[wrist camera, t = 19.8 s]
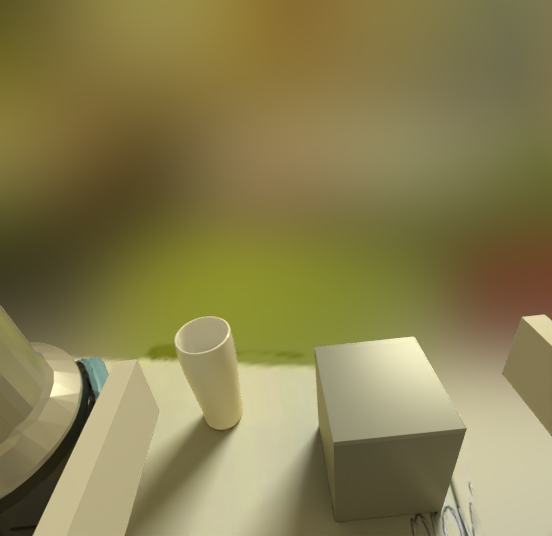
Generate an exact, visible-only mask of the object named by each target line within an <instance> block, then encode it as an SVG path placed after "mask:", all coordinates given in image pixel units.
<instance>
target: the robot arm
mask: <svg viewBox="0 0 552 536" xmlns="http://www.w3.org/2000/svg"><path fill="white" fill-rule="evenodd" d="M502 374H503V375H504V376H505V378H506V379H507V380H508V382H509V383H510V384H511V385H512V387H513V388H514V389H515V390H516V392H517V393H518V394H519V395H520V396H521V398H522V399H523V400H524V402H525V403H526V404H527V406H528V407H529V408H530V409H531V411H532V412H533V413H534V414H535V416H536V417H537V418H538V419H539V421H540V422H541V423H542V424H543V426H544V427H545V428H546V430H547V431H548V432H549V433H550V435H551V436H552V321H551V320H550V319H549V318H548V317H547V316H546V315H538V316H528V317H522V318H521V321H520V324H519V327H518V330H517V333H516V336H515V339H514V341H513V344H512V347H511V350H510V353H509V356H508V359H507V361H506V364H505V367H504V370H503V373H502ZM158 414H159V409H158V406H157V404H156V402H155V399H154V397H153V395H152V392H151V390H150V388H149V385H148V383H147V381H146V378H145V376H144V374H143V372H142V369H141V367H140V365H139V362H138V360H137V359H136V360H127V361H118V362H115V363H114V365H113V367H112V369H111V371H110V373H109V375H108V372H107V369H106V366H105V364H104V362H103V361H102V359H101V358H97V357H92V358H89V359H81V360H78V361H76V362H75V361H74V360H73V359H72V358H71V357H70V356H69V354H67V353H66V352H64V351H63V350H62V349H59V348H57V347H55V346H52V345H48V344H43V343H37V342H28V341H27V340H26V338H25V337H24V336H23V334H22V333H21V332H20V331H19V329H18V328H17V327H16V325H15V324H14V323H13V321H12V320H11V319H10V317H9V316H8V315H7V313H6V312H5V311H4V310H3V308H2V307H1V305H0V536H125V533H126V529H127V525H128V522H129V518H130V515H131V511H132V507H133V504H134V500H135V497H136V493H137V490H138V486H139V482H140V479H141V475H142V472H143V468H144V464H145V461H146V457H147V454H148V450H149V446H150V443H151V439H152V436H153V432H154V429H155V425H156V421H157V418H158Z"/></svg>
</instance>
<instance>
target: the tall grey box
mask: <svg viewBox="0 0 552 536" xmlns="http://www.w3.org/2000/svg"><path fill="white" fill-rule="evenodd" d="M315 366H316V383H317V401H318V418H319V429H320V435H321V441H322V447H323V453H324V458H325V464H326V470H327V476H328V482H329V488H330V494H331V500H332V505H333V511H334V517H335V522H342V521H351V520H361V519H371V518H381V517H391V516H400V515H410V514H420V513H430V512H439V511H441V510H442V507H443V504H444V501H445V497H446V494H447V491H448V488H449V484H450V481H451V478H452V475H453V471H454V468H455V465H456V462H457V458H458V455H459V452H460V448H461V445H462V442H463V439H464V435H465V432H466V429H467V428H466V426H465V424H464V423H463V421H462V419H461V418H460V416H459V414H458V412H457V410H456V409H455V407H454V405H453V403H452V402H451V400H450V398H449V396H448V395H447V393H446V391H445V390H444V388H443V386H442V384H441V383H440V381H439V379H438V378H437V376H436V374H435V372H434V370H433V369H432V367H431V365H430V363H429V362H428V360H427V358H426V356H425V355H424V353H423V351H422V349H421V348H420V346H419V344H418V343H417V341H416V339H415V337H406V338H398V339H397V338H396V339H388V340H378V341H369V342H359V343H350V344H342V345H332V346H323V347H315Z"/></svg>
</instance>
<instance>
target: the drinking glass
mask: <svg viewBox="0 0 552 536" xmlns="http://www.w3.org/2000/svg"><path fill="white" fill-rule="evenodd" d="M174 345H175V348H176V352H177V355H178V359H179V362H180V365H181V367H182V370H183V372H184V374H185V376H186V379H187V381H188V383H189V385H190V387H191V389H192V391H193V393H194V395H195V397H196V399H197V401H198V403H199V405H200V407H201V409H202V412H203V414H204V417H205V420H206V422H207V424H208V425H209V426H210V427H212V428H214V429H217V430H225V429H228V428H231V427H233V426H234V425H235V424H236V423H237V422H238V421H239V420H240V418H241V416H242V414H243V404H242V400H241V393H240V384H239V374H238V364H237V355H236V349H235V344H234V340H233V336H232V333H231V330H230V326H229V324H228V323H227V322H226V321H225V320H223V319H221V318H218V317H211V316H208V317H201V318H198V319H195V320H192V321H190V322H188V323H187V324H185V325H184V326H183V327H182V328H180V330H179V331H178V332H177V334H176V336H175V339H174Z"/></svg>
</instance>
